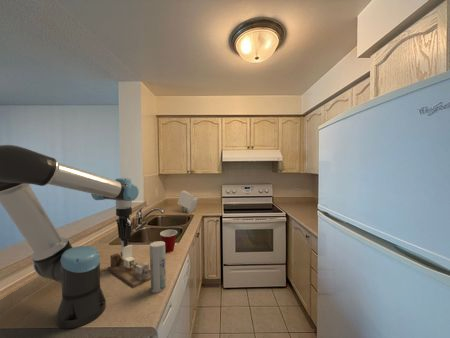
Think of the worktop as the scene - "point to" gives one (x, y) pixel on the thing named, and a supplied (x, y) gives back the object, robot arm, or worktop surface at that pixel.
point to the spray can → (157, 266)
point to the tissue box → (187, 201)
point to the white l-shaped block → (127, 256)
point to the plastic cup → (169, 239)
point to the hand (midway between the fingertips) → (124, 252)
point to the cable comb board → (130, 271)
